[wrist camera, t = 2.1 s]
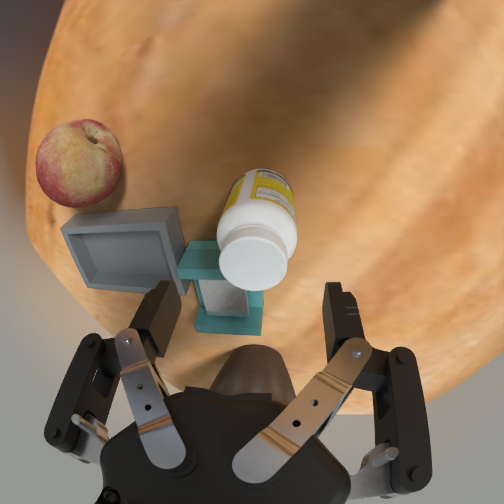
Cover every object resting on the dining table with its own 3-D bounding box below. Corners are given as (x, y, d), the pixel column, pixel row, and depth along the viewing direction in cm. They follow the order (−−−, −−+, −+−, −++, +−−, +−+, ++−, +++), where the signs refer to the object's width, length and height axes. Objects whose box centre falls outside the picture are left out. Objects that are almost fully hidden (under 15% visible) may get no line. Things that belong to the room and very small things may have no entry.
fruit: (149, 172, 23) (103, 212, 17) (93, 194, 25) (47, 235, 18) (120, 97, 19) (60, 113, 12) (66, 131, 21) (11, 158, 14)
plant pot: (189, 354, 40) (164, 447, 27) (246, 310, 32) (225, 439, 19) (263, 388, 44) (254, 471, 31) (328, 355, 37) (333, 459, 24)
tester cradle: (190, 240, 27) (176, 268, 23) (259, 240, 26) (255, 269, 23) (205, 303, 32) (196, 332, 29) (263, 304, 31) (260, 335, 28)
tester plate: (199, 268, 26) (196, 275, 25) (244, 269, 25) (243, 276, 25) (209, 308, 29) (207, 315, 28) (249, 310, 29) (248, 317, 28)
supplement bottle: (243, 228, 26) (224, 304, 18) (223, 176, 23) (190, 236, 15) (299, 216, 24) (306, 292, 16) (285, 160, 21) (287, 215, 14)
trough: (74, 214, 27) (60, 228, 24) (176, 206, 25) (165, 222, 23) (98, 272, 32) (87, 287, 29) (192, 276, 30) (185, 295, 27)
